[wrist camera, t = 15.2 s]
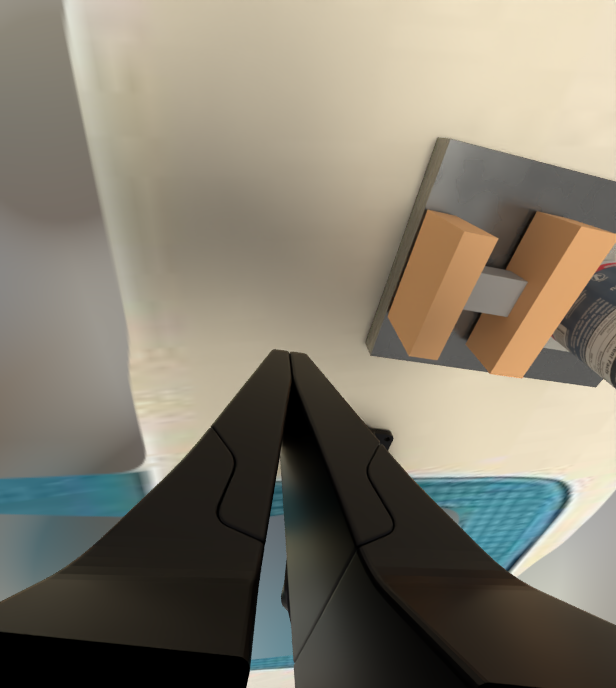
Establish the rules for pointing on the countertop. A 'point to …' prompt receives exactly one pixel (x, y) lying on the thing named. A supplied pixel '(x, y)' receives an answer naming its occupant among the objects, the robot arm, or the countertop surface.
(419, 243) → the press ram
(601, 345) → the pill bottle
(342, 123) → the countertop surface
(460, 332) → the silver frame
